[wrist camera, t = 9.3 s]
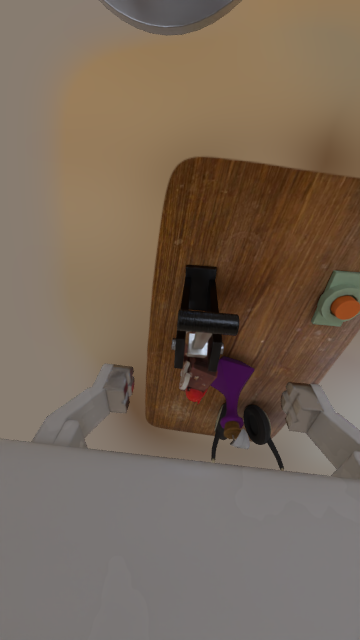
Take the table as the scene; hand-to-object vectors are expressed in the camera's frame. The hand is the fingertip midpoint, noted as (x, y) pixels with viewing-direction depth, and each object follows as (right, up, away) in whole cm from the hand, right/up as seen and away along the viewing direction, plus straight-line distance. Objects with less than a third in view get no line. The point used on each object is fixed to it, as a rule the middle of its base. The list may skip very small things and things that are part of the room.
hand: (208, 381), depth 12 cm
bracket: (+2, +9, +28) cm, 30 cm away
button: (+25, +6, +26) cm, 36 cm away
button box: (+25, +7, +27) cm, 38 cm away
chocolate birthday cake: (+2, +1, +34) cm, 34 cm away
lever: (+1, +3, +10) cm, 10 cm away
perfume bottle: (+9, -7, +38) cm, 40 cm away
